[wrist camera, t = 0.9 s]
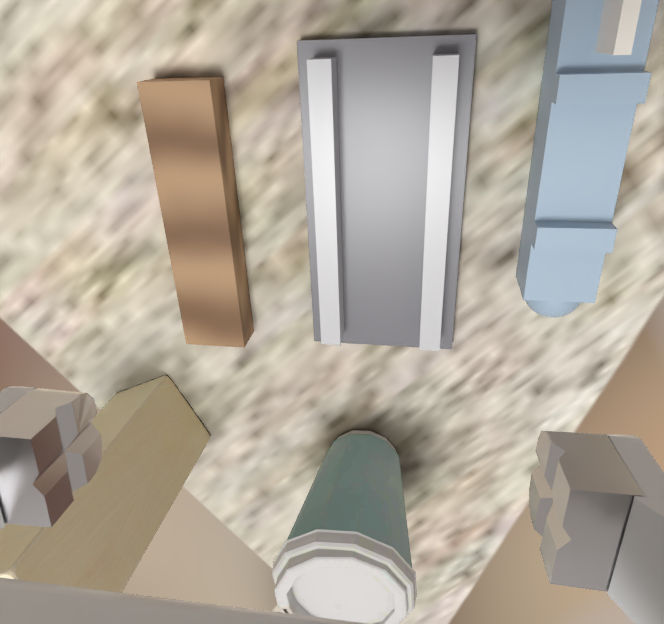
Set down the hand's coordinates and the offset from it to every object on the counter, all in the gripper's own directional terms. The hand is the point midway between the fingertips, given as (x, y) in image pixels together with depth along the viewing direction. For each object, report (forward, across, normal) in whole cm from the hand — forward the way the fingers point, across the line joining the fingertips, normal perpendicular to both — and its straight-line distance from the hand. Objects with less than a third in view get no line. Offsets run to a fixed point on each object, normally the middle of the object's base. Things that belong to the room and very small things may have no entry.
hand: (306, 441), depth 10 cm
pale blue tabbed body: (+30, -12, -2) cm, 33 cm away
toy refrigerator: (+34, +21, +23) cm, 46 cm away
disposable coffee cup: (+34, 0, +26) cm, 43 cm away
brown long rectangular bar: (+32, +13, +3) cm, 35 cm away
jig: (+31, 0, +2) cm, 31 cm away
